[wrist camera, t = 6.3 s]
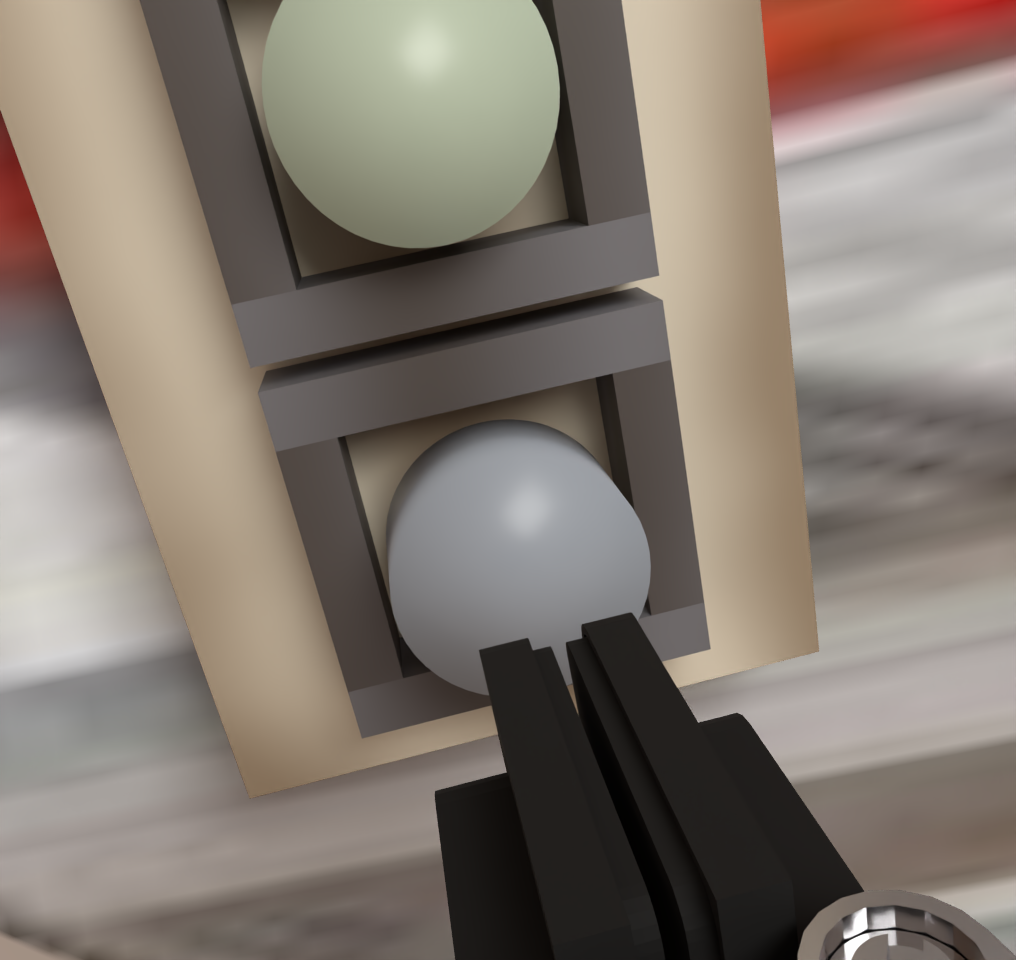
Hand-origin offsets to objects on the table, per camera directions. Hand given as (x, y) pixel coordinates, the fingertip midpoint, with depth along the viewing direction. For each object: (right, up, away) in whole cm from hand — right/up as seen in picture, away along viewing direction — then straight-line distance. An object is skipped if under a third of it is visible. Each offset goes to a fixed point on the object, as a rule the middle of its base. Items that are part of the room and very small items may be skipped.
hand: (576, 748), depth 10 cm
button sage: (-2, +9, +4) cm, 10 cm away
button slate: (-1, +2, +6) cm, 7 cm away
